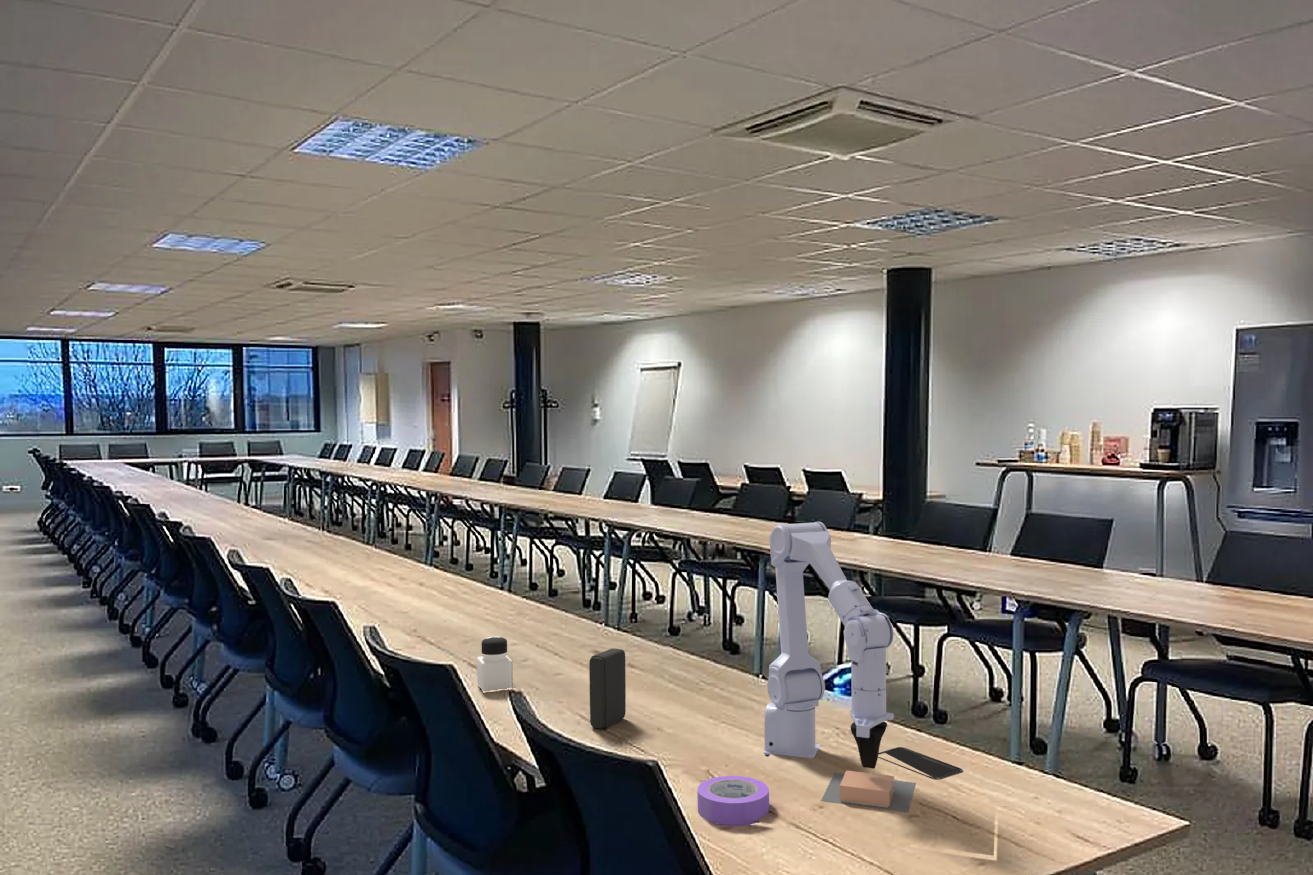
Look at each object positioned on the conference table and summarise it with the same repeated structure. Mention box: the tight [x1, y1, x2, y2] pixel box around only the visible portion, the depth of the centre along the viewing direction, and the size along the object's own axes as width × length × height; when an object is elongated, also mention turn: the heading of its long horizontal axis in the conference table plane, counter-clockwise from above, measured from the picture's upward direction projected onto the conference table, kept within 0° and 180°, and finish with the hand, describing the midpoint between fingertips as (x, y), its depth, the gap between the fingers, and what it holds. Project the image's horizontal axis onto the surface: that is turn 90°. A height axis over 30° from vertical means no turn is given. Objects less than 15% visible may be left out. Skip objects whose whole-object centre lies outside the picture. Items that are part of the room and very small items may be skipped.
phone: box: [878, 746, 964, 780], centre depth 172 cm, size 8×1×15 cm
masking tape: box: [696, 775, 770, 827], centre depth 153 cm, size 12×12×4 cm
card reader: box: [588, 647, 627, 730], centre depth 198 cm, size 9×4×15 cm, turn 149°
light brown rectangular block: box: [840, 770, 895, 808], centre depth 157 cm, size 8×3×7 cm
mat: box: [820, 772, 916, 813], centre depth 159 cm, size 14×13×1 cm
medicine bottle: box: [476, 636, 514, 692], centre depth 225 cm, size 7×7×12 cm
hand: (869, 766), depth 158 cm, fingers closed
